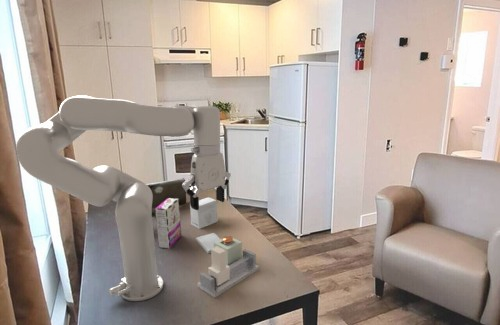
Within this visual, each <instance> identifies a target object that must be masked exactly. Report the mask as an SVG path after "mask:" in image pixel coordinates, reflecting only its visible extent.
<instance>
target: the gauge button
mask: <svg viewBox="0 0 500 325" xmlns="http://www.w3.org/2000/svg"><path fill="white" fill-rule="evenodd" d="M222 238H223V243H224V245H226V246H229V245H231V244H232V241H233V238H234V237H233V236H230V235H226V236H223V237H222Z"/></svg>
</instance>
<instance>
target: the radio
mask: <svg viewBox="0 0 500 325" xmlns="http://www.w3.org/2000/svg"><path fill="white" fill-rule="evenodd" d="M185 181H186V179H185V177H183V178H176V179H169V180H164V181H160V182H158V181H157V182H151V183H147V184H146V183H145V184H146V185H147V186H148V187H149V188H150V189H151V191H152V194H153V201H152V216H153V215H156V212H155V208H157V207H158V206H159V205H160V204H162V203H163V202H164V201H165V200H166V199H167V198H174V199H179V209H181V207H183V206H184V207H185V206H187V205H188V203H187V193H186V192H185V190H184V188H183V187H182V183H184V182H185Z"/></svg>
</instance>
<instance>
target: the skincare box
mask: <svg viewBox="0 0 500 325" xmlns="http://www.w3.org/2000/svg"><path fill="white" fill-rule="evenodd" d="M217 201H218V200H217V199H215V198H212V197H209V196H208V197H205V198H202V199H199V210H195V209H193V208H191V205H190V204H189V208H190V209H189V212H190V225H191V226H193V227H195V228H197V229H199V230H200V229H203V228H205V227H208V226H211V225H213V224H216V223H218V222H219V220H218V204H217V203H218V202H217Z"/></svg>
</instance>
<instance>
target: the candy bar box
mask: <svg viewBox="0 0 500 325" xmlns="http://www.w3.org/2000/svg"><path fill="white" fill-rule="evenodd" d="M155 212H156V214H155V220H156V228H157V229H156V230H157V239H158V248H160V249H161V248H162V249H171V248H172V247H173V246H174V245H175V244H176V242H177V241H178V240H179V239H180V238H181V237H182V227H181V215H180V208H179V199H174V198H167V199H166V200H165V201H164V202H163V203H162V204H160V205H159V206H158V207H157V208H155Z"/></svg>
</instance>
